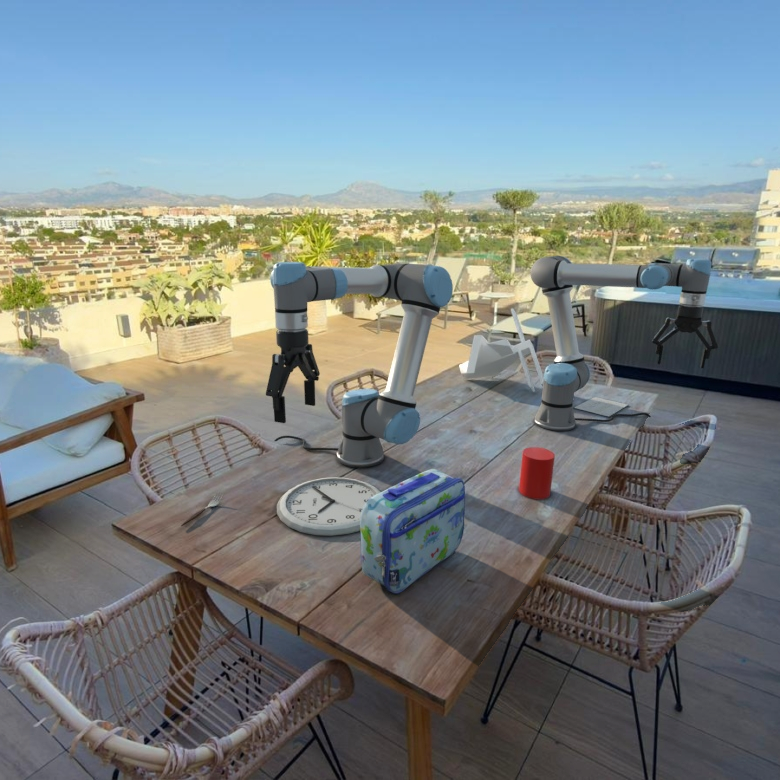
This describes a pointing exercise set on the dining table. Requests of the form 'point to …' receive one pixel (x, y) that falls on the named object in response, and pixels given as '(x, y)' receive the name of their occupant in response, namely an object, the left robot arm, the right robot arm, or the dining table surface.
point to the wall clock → (325, 506)
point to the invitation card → (601, 406)
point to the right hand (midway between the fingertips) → (679, 365)
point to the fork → (211, 504)
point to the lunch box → (411, 528)
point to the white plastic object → (499, 356)
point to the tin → (536, 472)
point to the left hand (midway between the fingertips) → (295, 413)
